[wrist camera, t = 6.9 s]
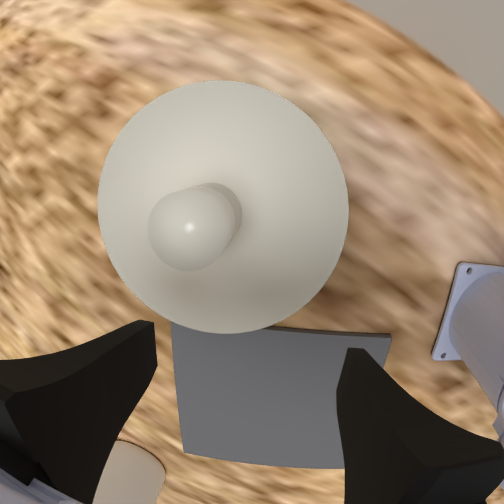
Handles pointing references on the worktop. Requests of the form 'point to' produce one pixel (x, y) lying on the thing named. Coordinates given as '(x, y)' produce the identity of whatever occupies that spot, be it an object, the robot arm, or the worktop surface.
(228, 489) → the worktop surface
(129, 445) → the mug
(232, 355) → the mat
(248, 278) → the lid
